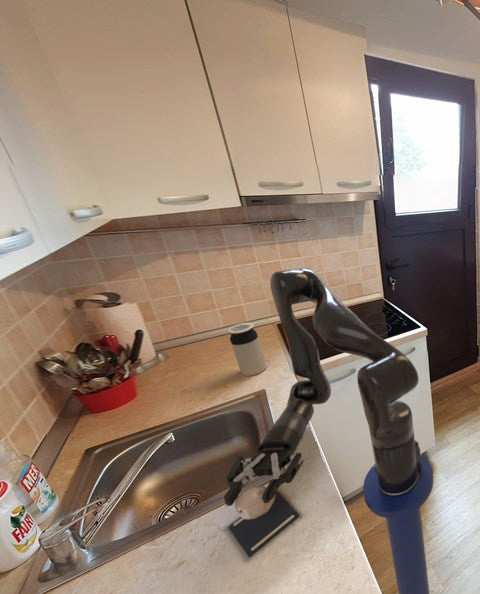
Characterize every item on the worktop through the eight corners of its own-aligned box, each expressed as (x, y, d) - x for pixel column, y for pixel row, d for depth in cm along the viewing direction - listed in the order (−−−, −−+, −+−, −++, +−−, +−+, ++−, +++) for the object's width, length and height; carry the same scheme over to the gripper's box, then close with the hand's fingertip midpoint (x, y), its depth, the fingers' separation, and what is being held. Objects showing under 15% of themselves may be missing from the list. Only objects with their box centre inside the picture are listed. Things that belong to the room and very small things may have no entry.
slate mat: (277, 491, 77) (276, 490, 77) (299, 516, 72) (299, 514, 72) (228, 527, 70) (227, 526, 70) (249, 557, 64) (248, 556, 64)
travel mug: (264, 373, 120) (251, 330, 113) (238, 378, 118) (223, 334, 111) (268, 362, 127) (256, 320, 120) (245, 366, 125) (231, 324, 118)
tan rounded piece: (244, 533, 65) (232, 506, 62) (237, 510, 70) (225, 485, 66) (280, 510, 70) (270, 484, 67) (271, 490, 74) (262, 465, 71)
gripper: (249, 426, 78) (201, 491, 63) (312, 422, 80) (279, 486, 64) (258, 449, 81) (214, 517, 66) (318, 445, 83) (288, 511, 67)
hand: (246, 501), depth 65 cm, fingers closed on tan rounded piece, 6 cm apart
